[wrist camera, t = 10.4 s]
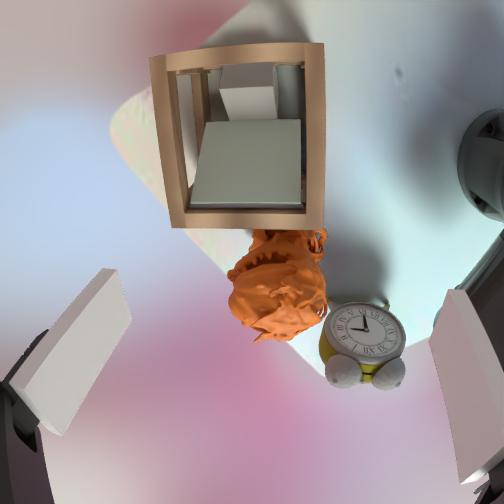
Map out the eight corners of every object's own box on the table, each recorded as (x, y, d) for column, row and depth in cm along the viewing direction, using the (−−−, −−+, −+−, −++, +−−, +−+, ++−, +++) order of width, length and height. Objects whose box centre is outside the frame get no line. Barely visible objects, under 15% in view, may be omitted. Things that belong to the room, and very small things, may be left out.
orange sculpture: (260, 182, 40) (231, 259, 25) (340, 213, 40) (359, 304, 25) (234, 253, 46) (200, 348, 31) (306, 278, 46) (304, 380, 31)
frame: (316, 53, 31) (323, 43, 20) (317, 184, 39) (322, 230, 28) (194, 60, 33) (149, 57, 22) (206, 184, 41) (171, 228, 30)
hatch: (302, 125, 32) (302, 119, 31) (302, 211, 29) (303, 205, 28) (206, 128, 34) (204, 122, 33) (191, 210, 30) (187, 205, 29)
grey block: (277, 123, 33) (272, 86, 27) (231, 125, 33) (218, 89, 28) (278, 90, 34) (273, 52, 28) (235, 92, 34) (224, 55, 29)
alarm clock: (396, 296, 46) (418, 373, 33) (383, 329, 49) (398, 404, 37) (323, 289, 47) (326, 369, 34) (315, 323, 50) (314, 401, 38)
